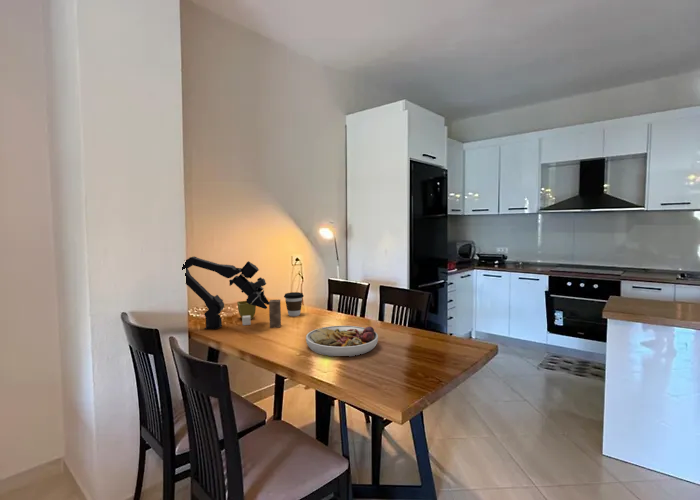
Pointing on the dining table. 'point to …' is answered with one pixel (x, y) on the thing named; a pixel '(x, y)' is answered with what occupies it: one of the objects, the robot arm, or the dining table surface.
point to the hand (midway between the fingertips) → (267, 306)
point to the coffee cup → (293, 303)
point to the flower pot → (246, 309)
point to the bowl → (342, 340)
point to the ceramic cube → (246, 320)
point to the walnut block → (275, 313)
